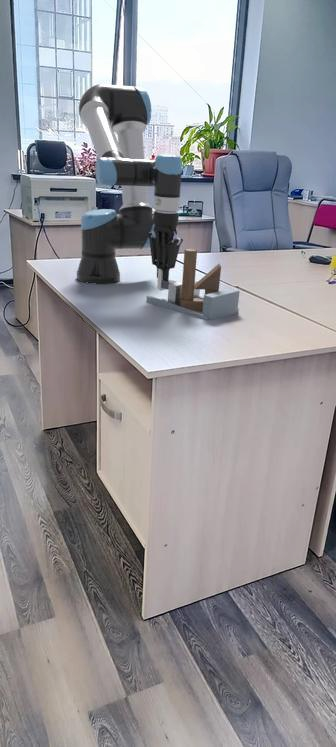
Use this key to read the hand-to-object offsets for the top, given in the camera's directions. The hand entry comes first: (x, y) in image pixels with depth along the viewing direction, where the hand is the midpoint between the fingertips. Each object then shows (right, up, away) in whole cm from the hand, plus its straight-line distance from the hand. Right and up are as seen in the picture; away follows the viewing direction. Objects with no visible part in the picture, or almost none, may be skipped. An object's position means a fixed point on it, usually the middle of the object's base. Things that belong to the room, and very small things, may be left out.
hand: (162, 289), depth 168 cm
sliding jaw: (+4, -4, -3) cm, 7 cm away
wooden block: (+11, -8, -9) cm, 16 cm away
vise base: (+9, -7, -7) cm, 13 cm away
